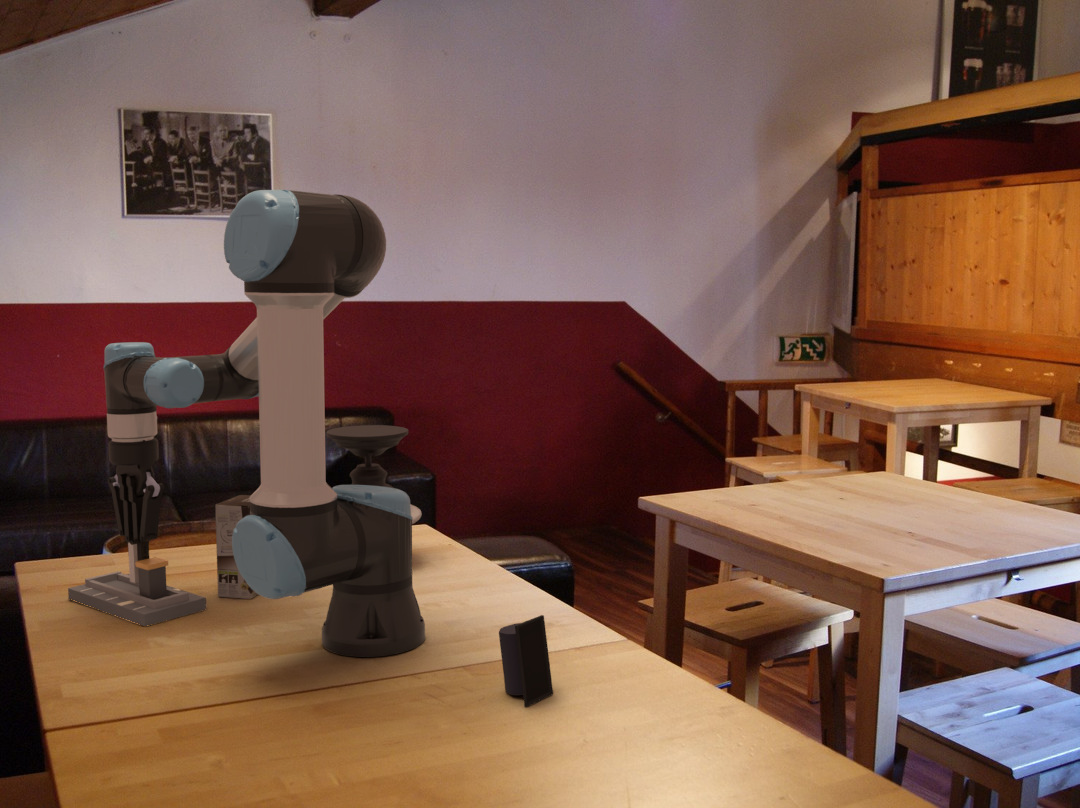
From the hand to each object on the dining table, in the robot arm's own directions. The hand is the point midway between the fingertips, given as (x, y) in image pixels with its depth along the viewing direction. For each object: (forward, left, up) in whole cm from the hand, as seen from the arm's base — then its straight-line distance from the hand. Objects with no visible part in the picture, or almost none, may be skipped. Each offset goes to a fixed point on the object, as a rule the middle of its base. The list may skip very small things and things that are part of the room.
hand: (140, 580), depth 171 cm
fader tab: (-4, 0, -2) cm, 4 cm away
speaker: (-73, -10, -5) cm, 73 cm away
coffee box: (-7, -16, -5) cm, 18 cm away
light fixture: (-11, -41, -5) cm, 43 cm away
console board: (+1, 0, -4) cm, 5 cm away
